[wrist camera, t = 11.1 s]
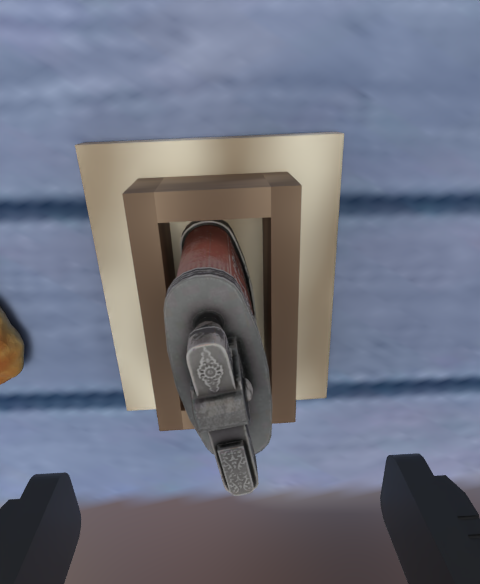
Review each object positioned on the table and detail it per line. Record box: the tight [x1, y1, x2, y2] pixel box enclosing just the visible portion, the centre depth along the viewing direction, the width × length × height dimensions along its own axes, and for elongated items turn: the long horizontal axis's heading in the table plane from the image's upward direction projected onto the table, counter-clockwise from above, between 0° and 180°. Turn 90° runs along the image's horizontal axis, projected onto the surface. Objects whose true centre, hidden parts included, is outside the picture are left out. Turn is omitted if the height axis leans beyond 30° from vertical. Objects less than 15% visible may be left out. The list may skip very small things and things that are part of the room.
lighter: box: [164, 220, 273, 496], centre depth 17 cm, size 8×3×10 cm, turn 11°
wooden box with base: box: [75, 132, 344, 431], centre depth 20 cm, size 12×15×5 cm
